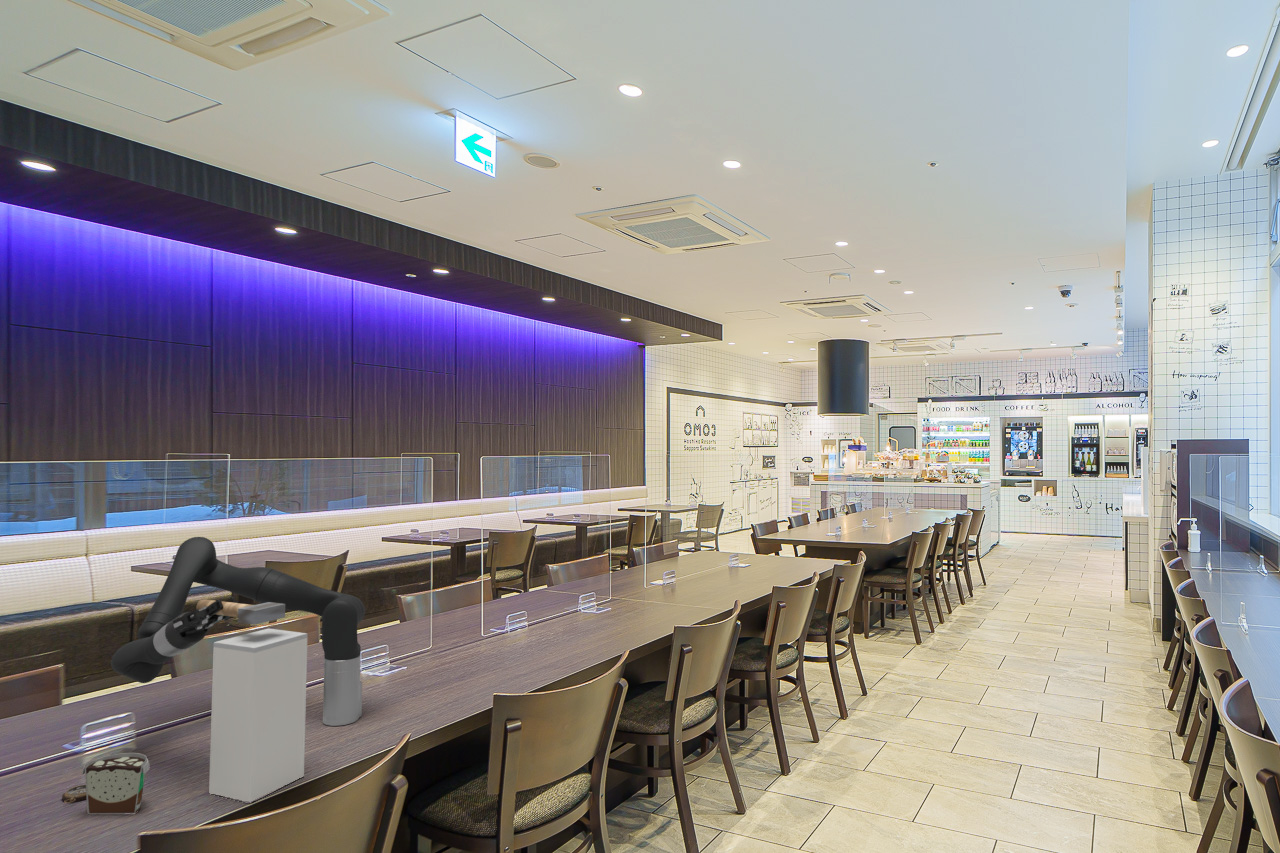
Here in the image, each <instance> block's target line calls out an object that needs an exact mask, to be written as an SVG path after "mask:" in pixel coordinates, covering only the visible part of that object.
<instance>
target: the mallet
mask: <svg viewBox="0 0 1280 853" xmlns="http://www.w3.org/2000/svg"><path fill="white" fill-rule="evenodd" d="M215 601H216V600H215V599H214V600H212V599H204V598H203V599H200V600H198V602H197V603H196V606H195V608H196V609H199V610H200V609H202V608H203V607H208V606H209V605H211V604H212V603H214V602H215ZM221 602H222V604H223V609H222V610H220V611H219V612H217V613H216V615H224V616H231V617H234V618H237V623H239V624H244V625H245V624H247V625H253V626H256V625H261V624H263V623H268V622H272V621H275V620H280V619H285V617H286V609H285V604H282V603H273V602H267V603H259V604H247V603H238V602H237V603H232V602H225V601H222V600H221ZM196 609H195V610H196Z"/></svg>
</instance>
